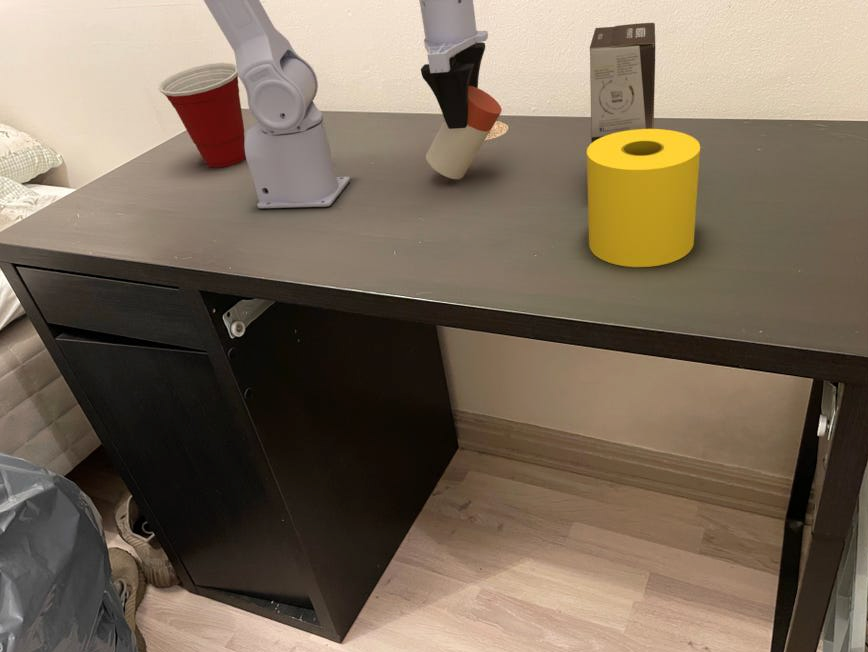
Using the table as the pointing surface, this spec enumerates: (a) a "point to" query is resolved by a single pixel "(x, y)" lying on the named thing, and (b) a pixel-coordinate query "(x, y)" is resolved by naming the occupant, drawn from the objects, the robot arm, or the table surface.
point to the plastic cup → (210, 110)
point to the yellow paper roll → (642, 196)
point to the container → (464, 136)
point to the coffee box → (622, 79)
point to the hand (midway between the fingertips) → (462, 119)
